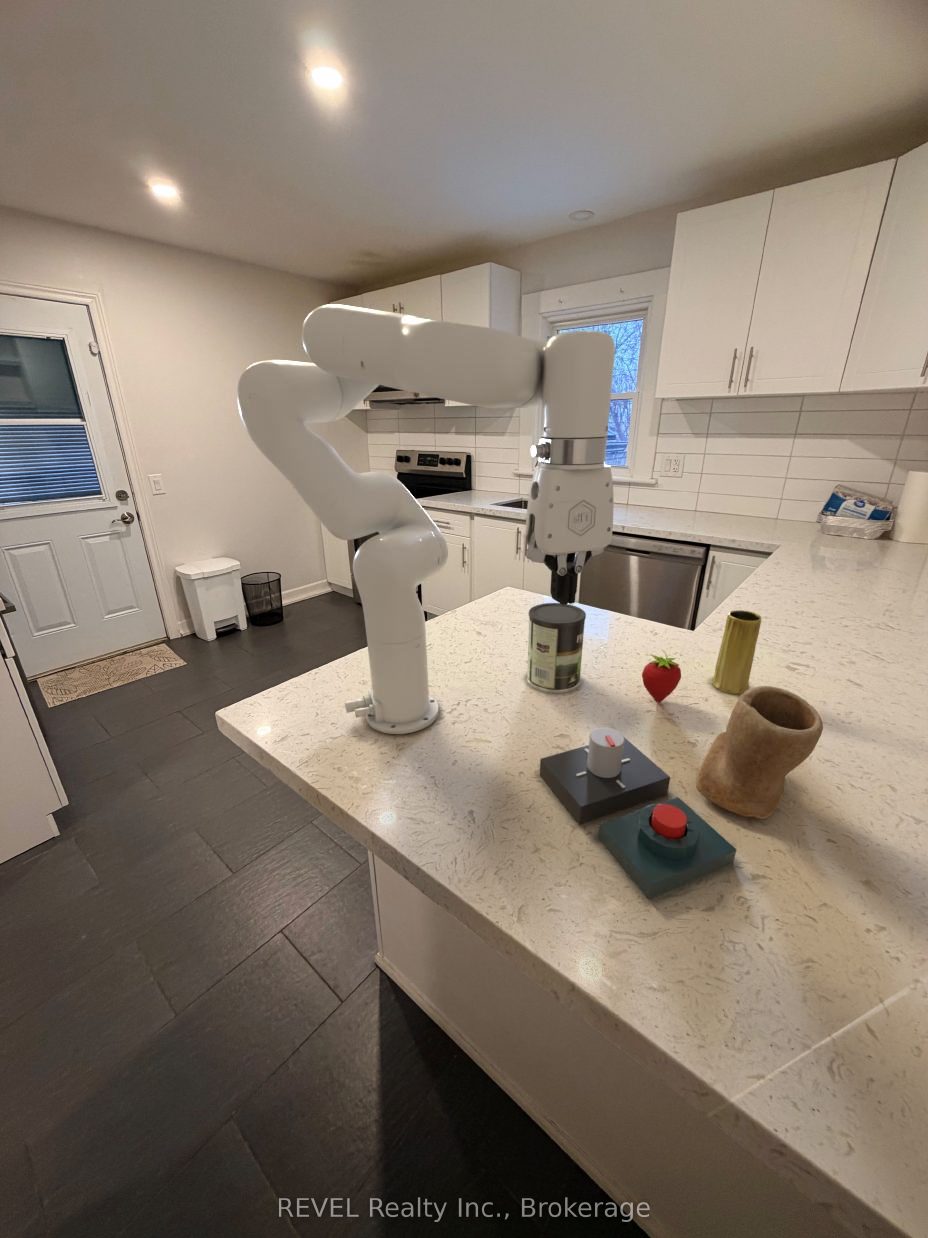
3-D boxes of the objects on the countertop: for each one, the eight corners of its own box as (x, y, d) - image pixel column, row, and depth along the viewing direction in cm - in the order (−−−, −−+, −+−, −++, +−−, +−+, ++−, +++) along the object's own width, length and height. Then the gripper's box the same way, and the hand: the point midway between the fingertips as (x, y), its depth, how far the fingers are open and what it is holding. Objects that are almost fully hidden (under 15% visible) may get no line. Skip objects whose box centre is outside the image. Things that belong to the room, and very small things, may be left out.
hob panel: (579, 825, 62) (580, 806, 61) (539, 775, 70) (540, 757, 69) (667, 795, 67) (670, 776, 65) (620, 751, 75) (622, 734, 74)
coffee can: (579, 669, 99) (585, 603, 94) (580, 696, 90) (586, 625, 85) (528, 665, 101) (530, 600, 96) (523, 690, 92) (526, 621, 87)
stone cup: (787, 844, 59) (820, 739, 53) (684, 798, 66) (703, 702, 60) (806, 776, 69) (836, 683, 64) (716, 743, 76) (735, 657, 71)
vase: (747, 681, 94) (763, 611, 88) (749, 697, 89) (766, 624, 83) (711, 675, 96) (725, 607, 91) (711, 690, 91) (725, 619, 85)
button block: (648, 900, 52) (653, 872, 51) (597, 837, 60) (600, 812, 59) (733, 863, 56) (740, 837, 55) (675, 809, 64) (680, 785, 63)
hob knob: (582, 758, 69) (585, 726, 67) (613, 755, 70) (617, 724, 68) (593, 779, 65) (596, 746, 63) (625, 777, 66) (630, 744, 63)
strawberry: (630, 702, 88) (637, 651, 84) (654, 688, 92) (661, 639, 88) (660, 716, 84) (669, 664, 80) (684, 701, 88) (693, 650, 84)
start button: (666, 843, 55) (668, 831, 54) (644, 820, 58) (646, 809, 57) (691, 833, 56) (694, 822, 55) (668, 811, 59) (670, 800, 58)
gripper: (531, 459, 52) (525, 619, 59) (646, 453, 57) (628, 602, 64) (500, 454, 58) (499, 599, 66) (606, 449, 63) (593, 585, 70)
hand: (562, 600), depth 65 cm, fingers closed
